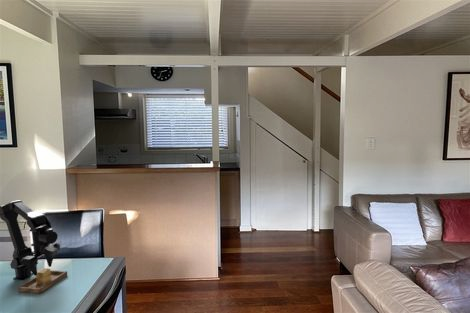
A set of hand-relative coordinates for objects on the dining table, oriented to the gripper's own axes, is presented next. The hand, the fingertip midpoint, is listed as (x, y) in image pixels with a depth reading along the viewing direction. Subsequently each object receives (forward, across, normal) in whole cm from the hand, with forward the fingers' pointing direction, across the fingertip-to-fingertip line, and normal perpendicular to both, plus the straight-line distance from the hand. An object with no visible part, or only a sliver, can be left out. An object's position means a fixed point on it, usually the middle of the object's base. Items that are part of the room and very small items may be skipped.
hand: (43, 270), depth 160 cm
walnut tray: (+7, 0, 0) cm, 7 cm away
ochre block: (+6, 0, 0) cm, 6 cm away
